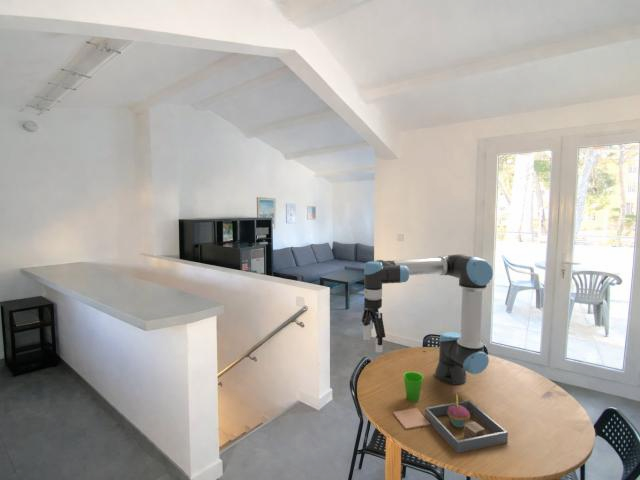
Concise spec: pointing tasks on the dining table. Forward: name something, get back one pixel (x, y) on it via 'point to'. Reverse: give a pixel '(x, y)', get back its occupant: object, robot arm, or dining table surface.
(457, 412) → the cupcake
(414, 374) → the cup
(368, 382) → the dining table surface
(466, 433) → the tan cube
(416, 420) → the plate
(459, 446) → the corral
